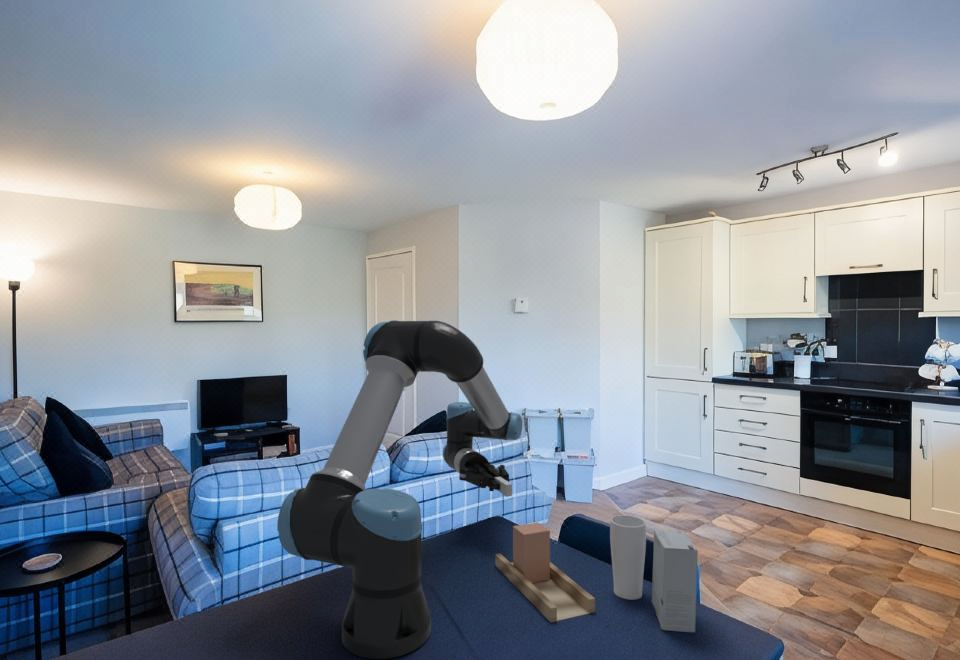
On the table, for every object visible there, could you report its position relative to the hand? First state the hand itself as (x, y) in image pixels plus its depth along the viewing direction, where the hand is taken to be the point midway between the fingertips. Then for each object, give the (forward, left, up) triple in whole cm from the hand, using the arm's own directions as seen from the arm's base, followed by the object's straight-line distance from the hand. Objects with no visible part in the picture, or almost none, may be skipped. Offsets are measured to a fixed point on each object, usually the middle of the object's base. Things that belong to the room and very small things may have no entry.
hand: (509, 490), depth 118 cm
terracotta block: (+6, -11, -15) cm, 19 cm away
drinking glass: (+25, -14, -16) cm, 32 cm away
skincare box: (+32, -21, -16) cm, 41 cm away
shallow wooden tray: (+8, -14, -16) cm, 22 cm away
